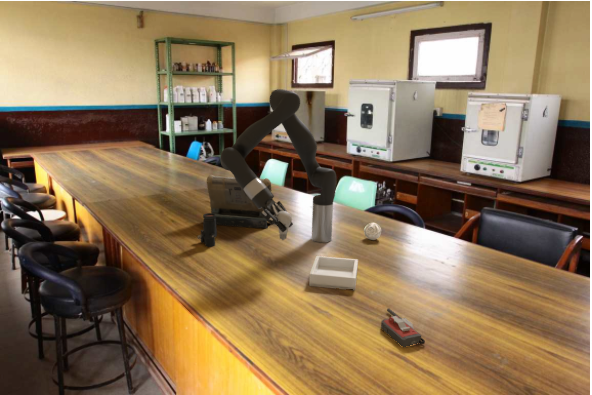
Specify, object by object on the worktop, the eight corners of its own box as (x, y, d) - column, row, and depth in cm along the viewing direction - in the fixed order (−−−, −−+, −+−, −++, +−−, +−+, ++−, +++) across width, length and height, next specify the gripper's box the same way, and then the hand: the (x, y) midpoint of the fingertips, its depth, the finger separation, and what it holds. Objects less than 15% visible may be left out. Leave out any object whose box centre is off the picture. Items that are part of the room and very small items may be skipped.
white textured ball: (361, 240, 209) (362, 224, 207) (366, 235, 216) (367, 220, 214) (378, 243, 206) (379, 226, 204) (382, 238, 212) (384, 222, 210)
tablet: (274, 221, 235) (275, 174, 229) (270, 229, 221) (271, 179, 215) (212, 218, 238) (211, 171, 232) (205, 226, 224) (203, 176, 218)
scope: (214, 210, 201) (222, 215, 193) (214, 239, 205) (222, 246, 196) (196, 212, 197) (203, 218, 189) (196, 242, 201) (204, 249, 192)
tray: (316, 266, 177) (316, 255, 176) (357, 270, 174) (358, 259, 173) (309, 285, 160) (309, 274, 159) (354, 290, 157) (355, 278, 156)
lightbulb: (276, 243, 163) (277, 213, 161) (273, 237, 169) (273, 209, 166) (293, 242, 165) (294, 213, 162) (289, 236, 171) (289, 208, 168)
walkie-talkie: (431, 345, 125) (390, 312, 143) (432, 331, 124) (391, 299, 142) (404, 351, 122) (366, 317, 140) (405, 337, 121) (366, 304, 139)
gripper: (256, 190, 158) (287, 227, 157) (273, 182, 172) (301, 217, 170) (243, 203, 162) (273, 240, 160) (260, 195, 175) (288, 228, 174)
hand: (288, 228), depth 165 cm, fingers closed on lightbulb, 5 cm apart
